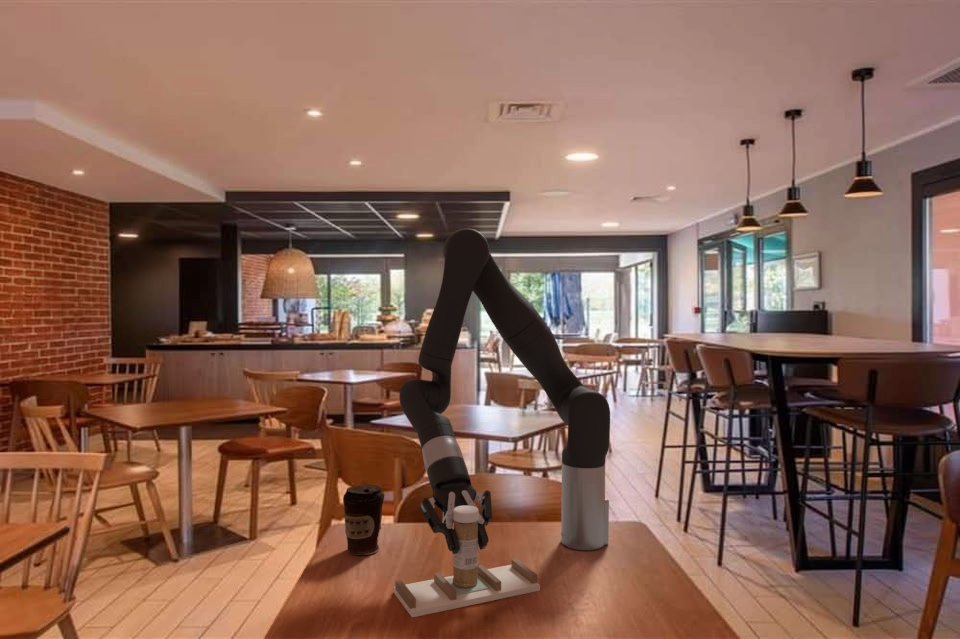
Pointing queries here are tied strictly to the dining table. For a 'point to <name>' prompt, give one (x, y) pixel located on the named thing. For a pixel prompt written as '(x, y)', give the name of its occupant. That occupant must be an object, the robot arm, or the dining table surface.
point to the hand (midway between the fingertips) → (470, 549)
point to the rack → (466, 589)
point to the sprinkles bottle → (466, 546)
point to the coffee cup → (363, 518)
